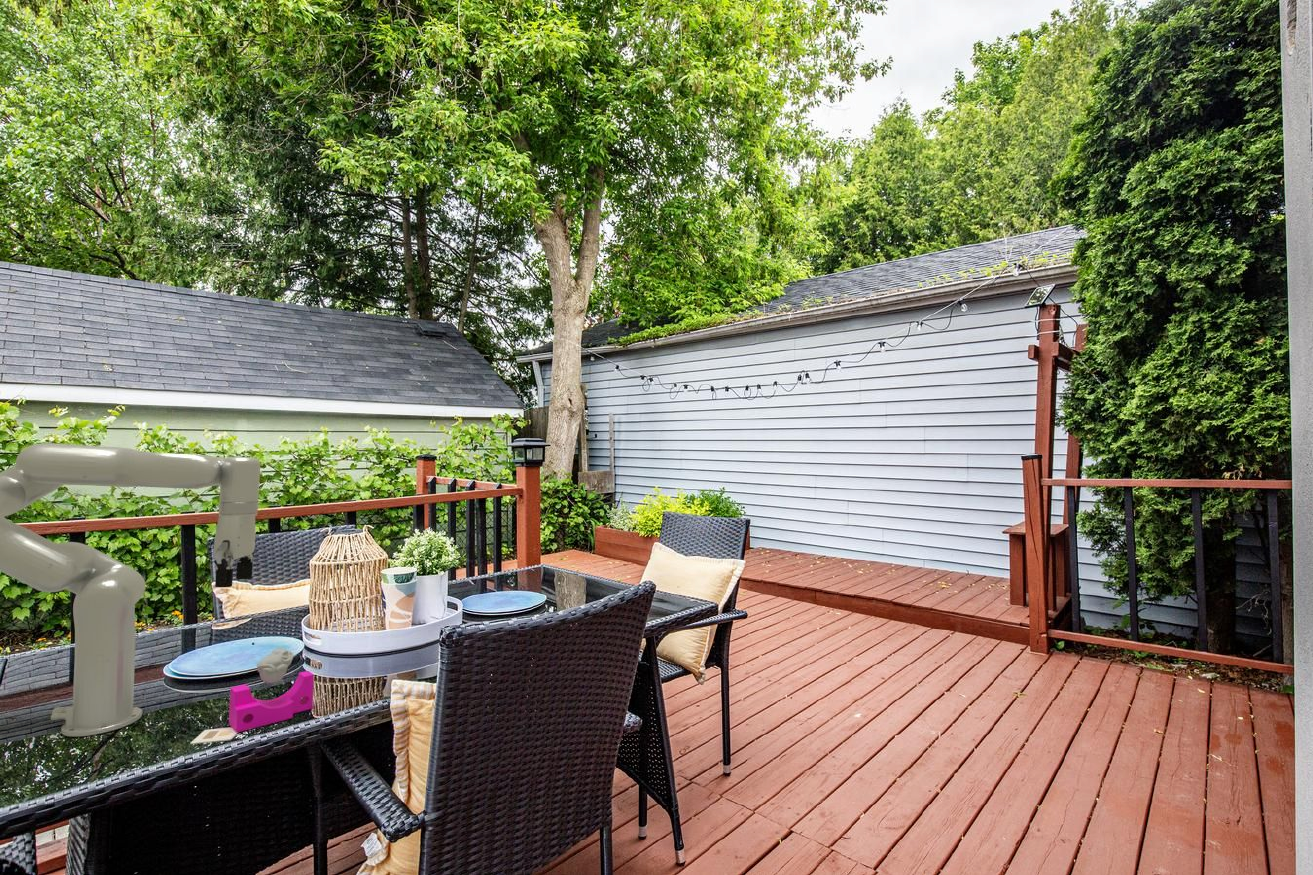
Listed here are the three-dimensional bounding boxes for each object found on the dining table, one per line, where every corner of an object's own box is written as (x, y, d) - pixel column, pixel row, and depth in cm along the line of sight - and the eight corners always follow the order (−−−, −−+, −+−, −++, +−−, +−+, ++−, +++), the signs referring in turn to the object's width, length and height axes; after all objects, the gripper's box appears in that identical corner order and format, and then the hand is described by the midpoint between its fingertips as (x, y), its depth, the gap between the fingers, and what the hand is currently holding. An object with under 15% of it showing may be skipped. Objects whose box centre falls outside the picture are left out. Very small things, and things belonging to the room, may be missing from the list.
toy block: (236, 732, 122) (237, 695, 123) (228, 723, 127) (230, 687, 127) (316, 711, 133) (317, 677, 134) (307, 703, 138) (308, 670, 138)
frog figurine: (297, 680, 132) (299, 648, 132) (262, 689, 126) (264, 656, 126) (285, 674, 135) (286, 643, 136) (250, 683, 129) (251, 651, 130)
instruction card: (190, 744, 118) (190, 742, 118) (204, 730, 124) (204, 729, 124) (230, 739, 120) (230, 738, 120) (243, 727, 126) (243, 725, 126)
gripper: (238, 506, 148) (234, 576, 147) (200, 512, 131) (195, 590, 130) (271, 507, 150) (267, 576, 149) (238, 512, 133) (234, 590, 132)
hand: (234, 582), depth 139 cm, fingers open, 9 cm apart
